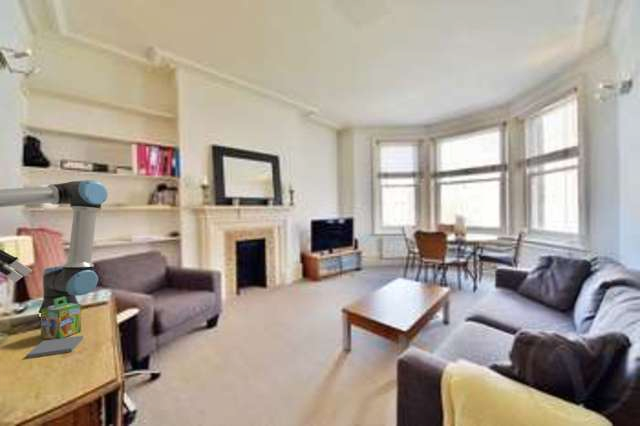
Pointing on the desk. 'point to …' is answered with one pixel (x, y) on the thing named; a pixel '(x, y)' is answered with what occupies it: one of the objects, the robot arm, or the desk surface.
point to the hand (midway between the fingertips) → (24, 276)
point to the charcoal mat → (55, 346)
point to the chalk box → (60, 320)
